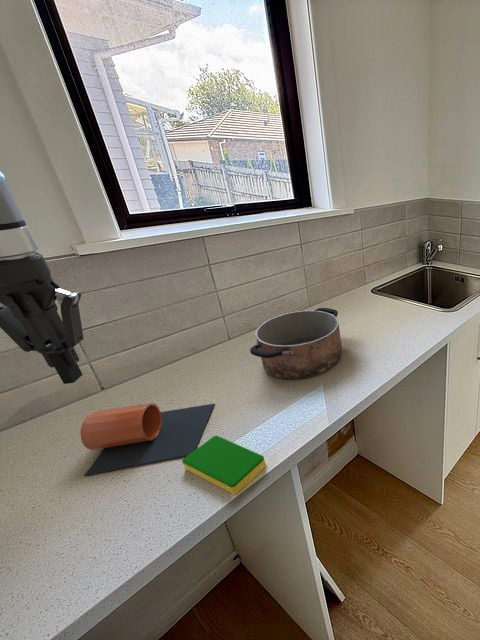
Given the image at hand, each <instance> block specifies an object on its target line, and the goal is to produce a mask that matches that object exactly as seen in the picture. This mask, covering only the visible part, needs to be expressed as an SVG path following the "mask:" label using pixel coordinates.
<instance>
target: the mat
mask: <svg viewBox="0 0 480 640" xmlns="http://www.w3.org/2000/svg"><path fill="white" fill-rule="evenodd" d="M215 406H216V403H210V404H203V405H197V406H196V405H195V406H190V407H184V408H178V409H172V410H165V411H161V416H162V426H161V430H160V433H159V434H158V436H157V438H155V439H154V440H152V441H146V442H140V443H134V444H128V445H122V446H116V447H111V448H105V449H102V451H101V452H100V453H99V455H98V456H97V457H96V459H95V460H94V461H93V462H92V463H91V465H90V466H89V468H88V469H87V471H86V472H85V473H84V476H85V477H89V476H93V475H99V474H105V473H109V472H114V471H120V470H125V469H130V468H135V467H141V466H146V465H150V464H156V463H161V462H167V461H172V460H176V459H181V458H182V459H183V458H185V457H186V456H188V455H189V454H191V453H192V452H193V451H195V450H196V449H197V448H198V447H199V443H200V441H201V439H202V436H203V434H204V432H205V429H206V427H207V425H208V422H209V420H210V419H211V418H210V417H211V415H212V413H213V412H214V408H215Z"/></svg>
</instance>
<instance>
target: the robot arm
mask: <svg viewBox="0 0 480 640" xmlns="http://www.w3.org/2000/svg"><path fill="white" fill-rule="evenodd" d="M33 235H34V234H33V233H32V231H31V229H30V227H29V226H28V224H27V222H26V220H25V218H24V216H23V214H22V211H21V209H20V207H19V205H18V203H17V202H16V198H15V197H14V195H13V193H12V190H11V188H10V186H9V185H8V182H7V180H6V176H5V175H4V173H3V172H2V171H1V170H0V329H1V330H2V331H3V332H4V333H5V334H6V335H7V336H8V337H9V338H10V339H11V340H12V341H13V342H14V343H15V344H16V345H17V346H18V348H20V350H22V351H23V352H26V353H29V352H37V353H38V354H41V355H42V357H43V359H44V360H45V362H46V364H47V366H48V367H49V368H51V369H52V368H54V369H55V371H56V373H57V374H58V376H59V378H60V380H61V382H62V384H63V385H66V384H67V385H69V384H74V383H75V382H76V381H78V380H79V379H80V378H81V377H82V376H83V372H82V370H81V368H80V367H79V365H78V363H79V361H80V357H79V355H78V353H77V351H76V349H75V347H76V346H77V345H78V344H80V343H81V342H82V341H83V340H84V332H83V326H82V319H81V313H80V307H79V306H80V305H79V304H80V302H81V298H82V294H81V292H79V291H76V290H75V291H72V292H70V291H68V290H65V289H62V288H61V286H60V285H59V283H56V281H55V280H54V279H53V278H52V274H51V270H50V267H49V265H48V263H47V262H46V260H45V257H44V255H43V254H41V253H39V252H37V251H38V250H39V249H40V247H39V244H38V243H37V241H36V239H35V237H34V236H33ZM57 299H58V300H57ZM56 301H57V303H58V304H59V305H60V307H59V308H60V314H59V312H58V309H59V308H58V305H57V303H56ZM60 315H61V316H60Z"/></svg>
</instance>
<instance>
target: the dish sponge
mask: <svg viewBox="0 0 480 640" xmlns="http://www.w3.org/2000/svg"><path fill="white" fill-rule="evenodd" d="M181 462H182V463H183V467H184V469H185V470H187V471H188V472H190V473H192V474H194V475H196V476H198V477H200V478H202V479H204V480H205V481H207V482H209V483H211V484H213V485H215V486H216V487H219V488H221V489H222V490H225V491H226V492H229V493H230V494H232V495H237V494H238V493H239V492H240V491H241V490H242V489H244V487H246V486H247V485H248V484H249V482H251V481H252V480H253V479H254V478H255V477H256V476H257V475H258V474H259V473H260V472H261V471H262V470H263V469H265V468H266V466H267V464H266V459H265V456H264V455H261V454H259V453H257V452H256V451H255V452H254V451H252V450H250V449H248V448H246V447H243V446H241V445H239V444H237V443H235V442H233V441H230V440H228V439H225V438H223V437H221V436H219V435H214V436H212V437H211V438H209V439H208V440H207V441H205V442H204V443H203V444H201V445H200V446H198V447H197V449H196V450H195V451H193V452H192V453H191V454H189V455H188V456H186V457H183V458H182V460H181Z"/></svg>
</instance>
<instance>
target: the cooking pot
mask: <svg viewBox="0 0 480 640" xmlns="http://www.w3.org/2000/svg"><path fill="white" fill-rule="evenodd" d="M338 314H339V311H338V310H336V309H334V308H329V307H319V308H316V309H314V310H297V311H292V312H287V313H283V314H280V315H277V316H274V317H271V318H269V319H267V320H266V321H265V322H263V323H261V324H260V325H259V326H258V327H257V329H256V331H255V333H254V334H255V340H256V343H255V345H253V346H252V347H251V348H250V349H249V353H250V354H251V355H252V356H255V357H258V358H260V359H261V363H262V366H263V369H264V371H265V372H266V373H267V374H269V375H270V376H272V377H275V378H277V379H281V380H291V381H292V380H302V379H309V378H312V377H316V376H318V375H321V374H324V373H326V372H327V371H329V370H330V369H332V368H334V366H336V365H337V364H338V362H339V361H340V360H341V358H342V356H343V347H342V346H343V345H342V338H341V330H340V323H339V319H338V318H337V317H338Z"/></svg>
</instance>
